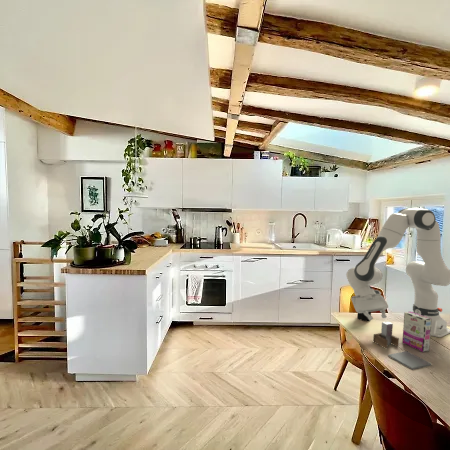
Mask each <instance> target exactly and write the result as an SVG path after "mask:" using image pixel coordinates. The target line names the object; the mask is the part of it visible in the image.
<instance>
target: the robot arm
mask: <svg viewBox="0 0 450 450" xmlns="http://www.w3.org/2000/svg"><path fill="white" fill-rule="evenodd" d="M408 228H410V229H411V228H412V229H416V253H417V255H418V256H420V258H421V259H422V261H418V260H413V261H410V262H409V263H407V265H406V266H405V272H406V275H408V277H409V278H410V281H411V283H412V286H413V289H414V301H413V304H412V312H413V313H416V314H419V315H422V316H425V317H428V318H431V319H432V321H431V333H430V337H436V338H442V337H444V336H446V335H449V334H450V328H448V327H447V320H446V319H445V318H443V317H442V316H441V315H440V313H442V312H443V308H441V307H438V305H439V304H438V303H439V295H438V292H437V291H436V290H435V289H434V286H436V287H437V286H439V287H447V286H449V285H450V269H449V267H448V266H447V265H446V263H445V261H444V259H443V257H442V252H441V248H442V247H441V243H442V242H441V229H440V228H441V227H440V224H439V222H438V221H437V219H436V215H435V213H434V212H433V211H432V210H431V209H428V208H421V207H420V208H419V207H411V208H408V207H407V208H402V209H400V210H399V211H397V212H394V213H391V214H390V215H389V217H388V218H387V219H386V220H385V222H384V224H383V225H382V227H381V230H380V231H379V233H378V235H377V237H376V238H375V239H374V240H373V242H372V244H371V245H370V247H369V248H368V250H367V252H366V254H364V257H362V259H361V260H360V261H359V262H358V263H357V264H356V266H355V267H351V268H350V269H348V271H347V272H346V274H345V275H346V279H347V282H348V284H349V286H350V287H351V288H352V290H353V293H354V295H352V297H351V299H350V300H351V302H352V305H353V307H354V309H355V312H356V313H357V314H358V313H364V315H365V316H366V317H368V319H369V320H370V321H373V320H374V317H373V315H371V316H370V315H369V314H368V312H371V313H373V312H378V311H379V312H380V313H381V315H380V316H381V318H382V319H386V318H387V314H386V310H387V309H388V308H389V304H388V302H387V301H386V299H385V297H384V296H383V295H381V294H382V292H381V291H380V290H377V289H374V288H372V289H371V288H370V287H369V286H373V285H376V284H379V283H380V282H381V281H382V279H383V272H382V270H381V269H379V268H378V267H377V266H376V264H377V262H378V261H379V258H380V256H381V255H382V253H383V252H384V251H386V250H389V249H392V248H393V249H394V248H396V247H397V246H398V245H399V244H400V242H401V241H402V239H403V237H404V235H405V232H406V231H407V229H408Z"/></svg>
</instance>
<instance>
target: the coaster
mask: <svg viewBox="0 0 450 450" xmlns="http://www.w3.org/2000/svg"><path fill="white" fill-rule="evenodd" d="M387 355H388V356H387V357H389V356H390V357H391V359H392V358H393V359H392V360H394V361H396V362H397V361H398V362H397V363H400V365H403V366H404V367H407V368H409V369H411V370H417V369H418V370H419V369H421V368H425V367H426V368H427V367H429V366H432V363H431V362H429V361H427V360H426V359H423V358H421V357H419V356H417V355H416V354H414V353H412V352H409V351H407V350H404V351H400V352H395V353H391V354H387ZM390 357H389V358H390Z"/></svg>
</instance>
